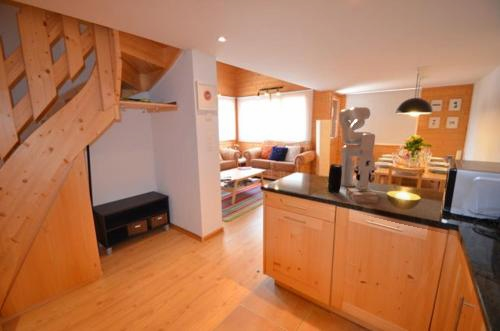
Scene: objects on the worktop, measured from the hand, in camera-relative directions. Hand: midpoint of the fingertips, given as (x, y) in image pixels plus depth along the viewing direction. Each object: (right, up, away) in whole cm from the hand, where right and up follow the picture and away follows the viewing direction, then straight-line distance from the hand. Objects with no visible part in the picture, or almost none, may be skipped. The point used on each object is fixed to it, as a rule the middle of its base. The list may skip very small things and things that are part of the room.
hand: (363, 179), depth 148 cm
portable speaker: (-13, -10, +16) cm, 23 cm away
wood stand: (0, -13, +3) cm, 13 cm away
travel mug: (0, -7, +1) cm, 7 cm away
